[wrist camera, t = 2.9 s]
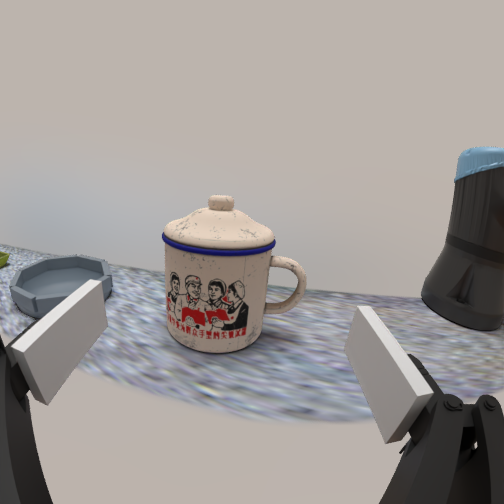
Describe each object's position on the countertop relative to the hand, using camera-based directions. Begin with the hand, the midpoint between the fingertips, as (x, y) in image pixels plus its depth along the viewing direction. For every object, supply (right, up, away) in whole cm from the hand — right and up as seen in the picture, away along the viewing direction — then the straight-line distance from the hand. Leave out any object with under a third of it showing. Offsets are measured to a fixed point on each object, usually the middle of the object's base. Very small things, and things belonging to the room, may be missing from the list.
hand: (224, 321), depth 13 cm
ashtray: (-20, -1, +13) cm, 24 cm away
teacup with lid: (-1, -4, +11) cm, 12 cm away
